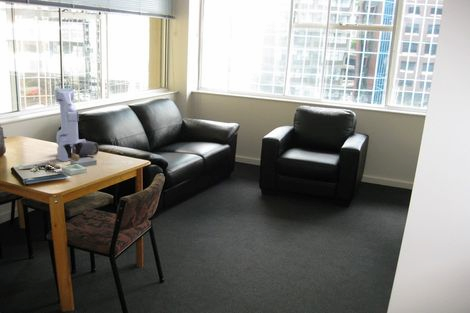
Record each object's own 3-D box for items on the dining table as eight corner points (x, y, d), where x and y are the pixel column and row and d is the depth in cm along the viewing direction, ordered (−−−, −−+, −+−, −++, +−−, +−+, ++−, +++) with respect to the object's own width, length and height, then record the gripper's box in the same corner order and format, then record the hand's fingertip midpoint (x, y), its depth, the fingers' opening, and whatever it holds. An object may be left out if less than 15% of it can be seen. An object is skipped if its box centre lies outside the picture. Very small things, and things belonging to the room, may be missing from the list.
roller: (67, 159, 254) (67, 152, 253) (74, 159, 257) (74, 152, 256) (72, 161, 250) (72, 154, 249) (79, 161, 253) (79, 154, 252)
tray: (61, 170, 255) (61, 166, 254) (77, 168, 262) (77, 164, 261) (70, 175, 248) (70, 170, 248) (86, 172, 255) (86, 168, 254)
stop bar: (47, 167, 260) (47, 162, 259) (50, 166, 261) (50, 161, 260) (57, 172, 252) (56, 167, 251) (60, 171, 253) (60, 166, 253)
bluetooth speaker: (59, 155, 287) (58, 139, 284) (67, 152, 296) (67, 137, 293) (91, 159, 282) (91, 143, 280) (99, 155, 291) (99, 140, 288)
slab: (70, 164, 269) (70, 159, 268) (89, 161, 277) (89, 157, 277) (77, 168, 263) (77, 163, 262) (96, 165, 271) (96, 160, 270)
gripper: (63, 135, 242) (64, 160, 245) (88, 132, 252) (89, 156, 255) (57, 133, 246) (58, 157, 250) (82, 130, 257) (82, 154, 260)
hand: (73, 157), depth 253 cm, fingers closed on roller, 4 cm apart
